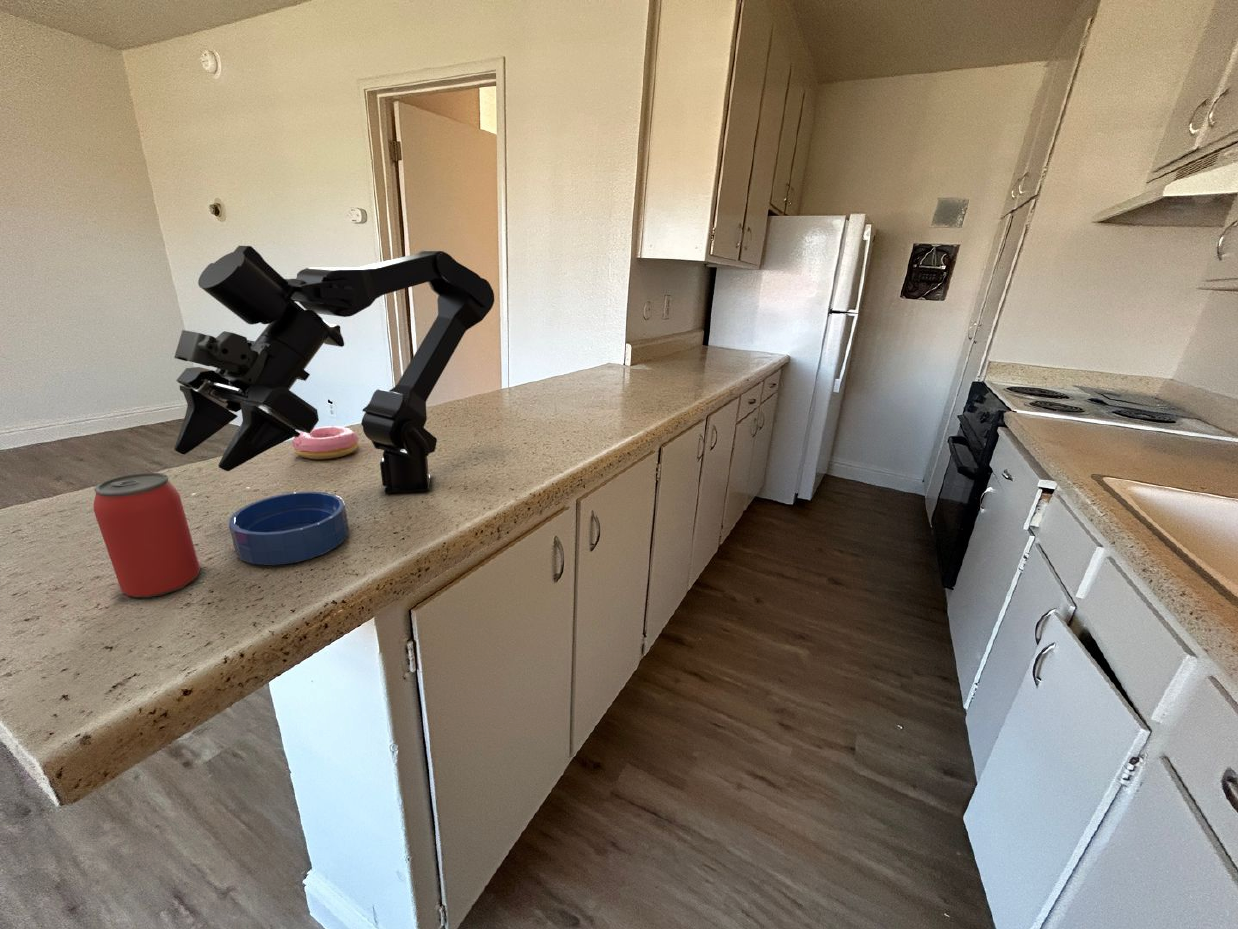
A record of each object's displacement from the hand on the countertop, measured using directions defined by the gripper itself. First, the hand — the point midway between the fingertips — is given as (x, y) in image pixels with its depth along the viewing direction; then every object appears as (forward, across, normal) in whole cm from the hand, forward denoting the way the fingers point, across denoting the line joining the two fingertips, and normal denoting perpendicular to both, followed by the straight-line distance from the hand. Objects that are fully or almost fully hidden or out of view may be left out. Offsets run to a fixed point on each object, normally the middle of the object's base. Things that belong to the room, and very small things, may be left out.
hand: (200, 460), depth 57 cm
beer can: (+13, 0, +5) cm, 14 cm away
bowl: (+4, +3, +14) cm, 14 cm away
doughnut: (-12, -25, +30) cm, 41 cm away
